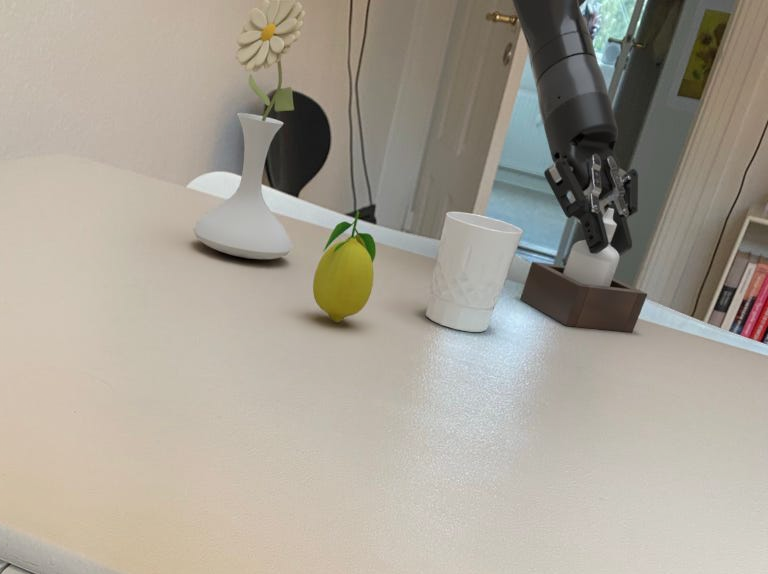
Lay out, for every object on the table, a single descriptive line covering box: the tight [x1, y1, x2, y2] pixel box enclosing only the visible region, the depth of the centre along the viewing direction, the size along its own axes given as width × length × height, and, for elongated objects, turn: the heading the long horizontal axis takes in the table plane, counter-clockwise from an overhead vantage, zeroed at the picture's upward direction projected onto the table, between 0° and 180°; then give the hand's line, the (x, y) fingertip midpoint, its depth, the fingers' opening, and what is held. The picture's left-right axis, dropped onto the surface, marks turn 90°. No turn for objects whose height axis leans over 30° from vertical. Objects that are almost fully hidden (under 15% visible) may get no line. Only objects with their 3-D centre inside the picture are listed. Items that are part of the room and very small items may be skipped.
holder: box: [519, 261, 648, 333], centre depth 109 cm, size 10×10×4 cm
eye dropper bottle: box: [563, 207, 620, 287], centre depth 107 cm, size 4×6×12 cm
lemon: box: [312, 210, 377, 323], centre depth 84 cm, size 7×6×10 cm
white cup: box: [425, 211, 524, 333], centre depth 94 cm, size 8×8×10 cm
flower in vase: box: [192, 0, 306, 260], centre depth 96 cm, size 13×11×25 cm
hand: (611, 250), depth 104 cm, fingers closed on eye dropper bottle, 3 cm apart
